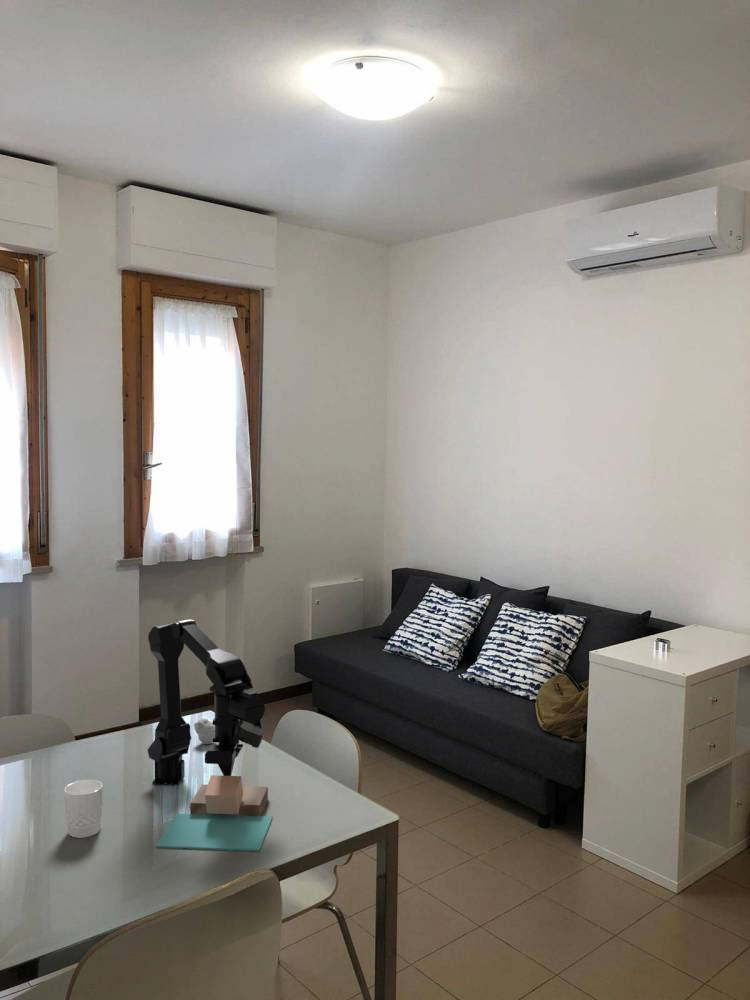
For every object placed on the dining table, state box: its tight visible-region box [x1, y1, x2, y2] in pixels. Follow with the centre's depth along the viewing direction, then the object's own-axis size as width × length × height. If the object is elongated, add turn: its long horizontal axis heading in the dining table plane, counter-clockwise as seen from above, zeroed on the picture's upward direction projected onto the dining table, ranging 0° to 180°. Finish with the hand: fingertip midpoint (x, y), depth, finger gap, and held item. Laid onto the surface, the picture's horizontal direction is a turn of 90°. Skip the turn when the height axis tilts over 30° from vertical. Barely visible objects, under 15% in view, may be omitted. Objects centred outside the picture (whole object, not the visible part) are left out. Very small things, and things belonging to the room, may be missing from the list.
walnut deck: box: [189, 784, 269, 816], centre depth 195 cm, size 16×10×3 cm, turn 86°
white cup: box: [63, 779, 104, 839], centre depth 182 cm, size 8×8×10 cm
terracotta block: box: [205, 774, 243, 814], centre depth 188 cm, size 7×6×6 cm
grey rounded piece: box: [193, 718, 215, 745], centre depth 234 cm, size 6×7×7 cm
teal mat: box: [155, 812, 273, 852], centre depth 182 cm, size 22×15×1 cm
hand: (228, 778), depth 192 cm, fingers closed
